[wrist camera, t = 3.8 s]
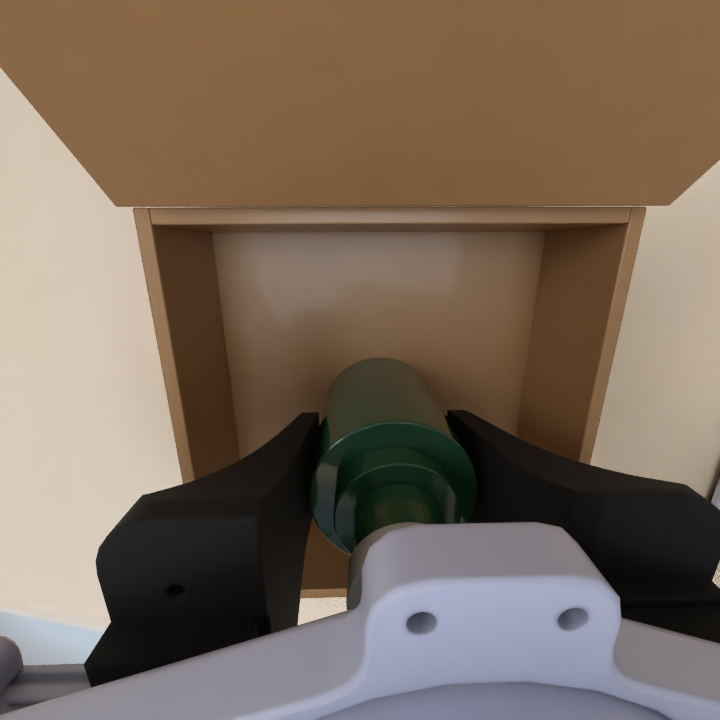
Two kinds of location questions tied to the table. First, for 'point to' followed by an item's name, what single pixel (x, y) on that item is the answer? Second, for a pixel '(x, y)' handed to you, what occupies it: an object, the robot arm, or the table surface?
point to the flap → (375, 98)
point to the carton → (383, 320)
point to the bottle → (385, 462)
